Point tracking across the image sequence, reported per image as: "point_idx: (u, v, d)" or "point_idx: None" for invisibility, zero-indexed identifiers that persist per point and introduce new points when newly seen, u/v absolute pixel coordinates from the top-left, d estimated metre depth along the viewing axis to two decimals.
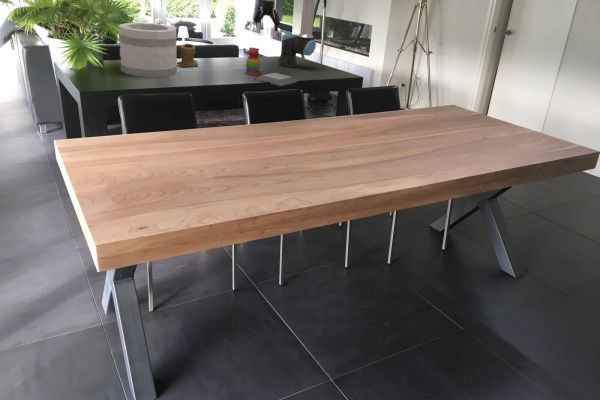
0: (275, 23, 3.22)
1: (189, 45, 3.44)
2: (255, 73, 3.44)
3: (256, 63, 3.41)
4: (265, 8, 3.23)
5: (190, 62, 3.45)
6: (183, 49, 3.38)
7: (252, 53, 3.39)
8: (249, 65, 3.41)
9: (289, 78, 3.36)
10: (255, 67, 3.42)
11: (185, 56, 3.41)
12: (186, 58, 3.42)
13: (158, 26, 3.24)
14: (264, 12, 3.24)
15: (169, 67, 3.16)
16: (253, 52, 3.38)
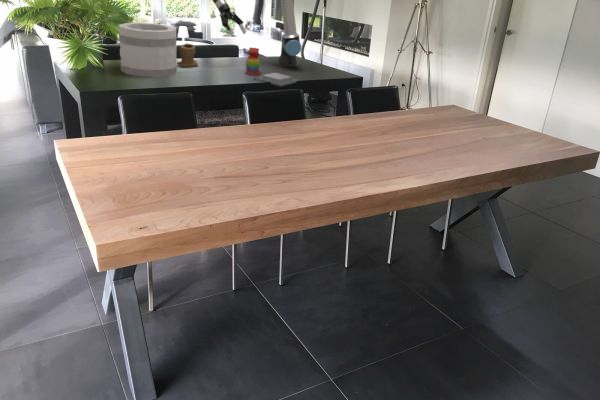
0: None
1: (189, 45, 3.44)
2: (255, 73, 3.44)
3: (256, 63, 3.41)
4: None
5: (190, 62, 3.45)
6: (183, 49, 3.38)
7: (252, 53, 3.39)
8: (249, 65, 3.41)
9: (289, 78, 3.36)
10: (255, 67, 3.42)
11: (185, 57, 3.41)
12: (186, 58, 3.42)
13: (158, 26, 3.24)
14: None
15: (169, 67, 3.16)
16: (253, 52, 3.38)
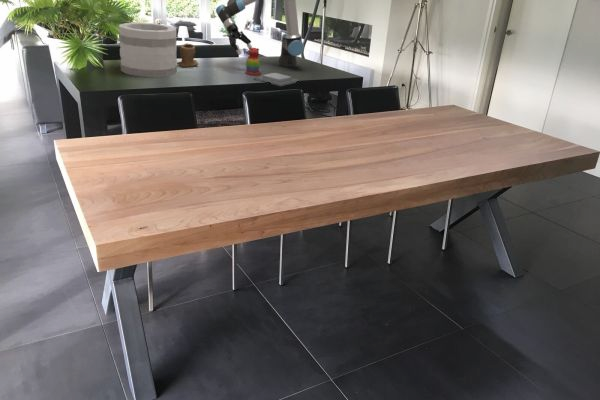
0: None
1: (189, 45, 3.44)
2: (255, 73, 3.44)
3: (256, 63, 3.41)
4: None
5: (190, 62, 3.45)
6: (183, 49, 3.38)
7: (252, 53, 3.39)
8: (249, 65, 3.41)
9: (289, 78, 3.36)
10: (255, 67, 3.42)
11: (185, 56, 3.41)
12: (186, 58, 3.42)
13: (158, 26, 3.24)
14: None
15: (169, 67, 3.16)
16: (253, 52, 3.38)
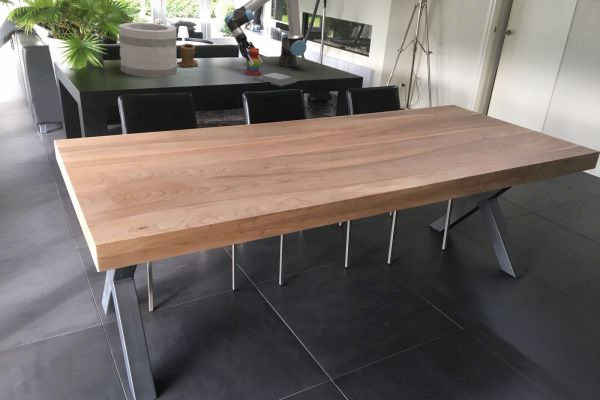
0: None
1: (189, 45, 3.44)
2: (255, 73, 3.44)
3: (256, 63, 3.41)
4: None
5: (190, 62, 3.45)
6: (183, 49, 3.38)
7: (252, 53, 3.39)
8: (249, 65, 3.41)
9: (289, 78, 3.36)
10: (255, 67, 3.42)
11: (185, 57, 3.41)
12: (186, 58, 3.42)
13: (158, 26, 3.24)
14: None
15: (169, 67, 3.16)
16: (253, 52, 3.38)
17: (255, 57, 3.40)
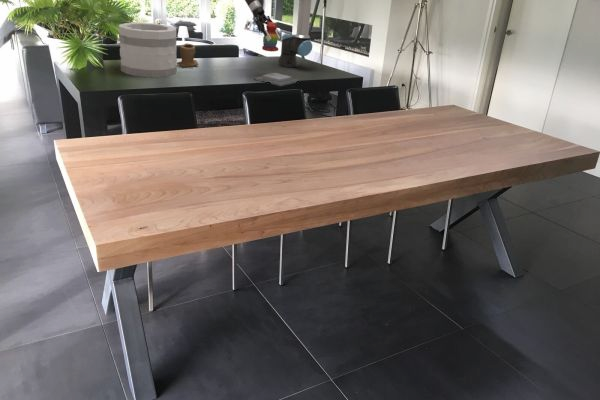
0: None
1: (189, 45, 3.44)
2: (272, 49, 3.27)
3: (274, 38, 3.23)
4: None
5: (190, 62, 3.45)
6: (183, 49, 3.38)
7: (270, 27, 3.21)
8: (266, 40, 3.24)
9: (289, 78, 3.36)
10: (272, 42, 3.24)
11: (185, 57, 3.41)
12: (186, 58, 3.42)
13: (158, 26, 3.24)
14: None
15: (169, 67, 3.16)
16: (271, 26, 3.21)
17: (272, 32, 3.23)
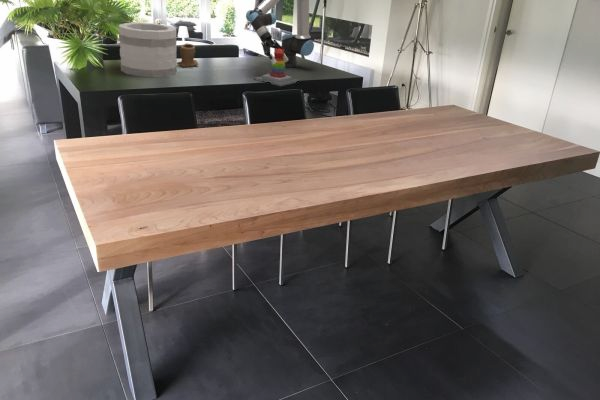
0: None
1: (189, 45, 3.44)
2: (280, 75, 3.31)
3: (281, 65, 3.28)
4: None
5: (190, 62, 3.45)
6: (183, 49, 3.38)
7: (277, 54, 3.26)
8: (274, 67, 3.28)
9: (289, 78, 3.36)
10: (280, 69, 3.29)
11: (185, 56, 3.41)
12: (186, 58, 3.42)
13: (158, 26, 3.24)
14: None
15: (169, 67, 3.16)
16: (278, 53, 3.26)
17: (280, 58, 3.27)
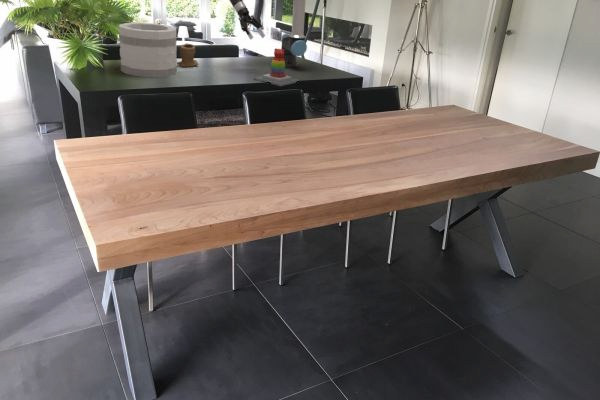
0: None
1: (189, 45, 3.44)
2: (280, 75, 3.31)
3: (281, 65, 3.28)
4: None
5: (190, 62, 3.45)
6: (183, 49, 3.38)
7: (277, 54, 3.26)
8: (274, 67, 3.28)
9: (289, 78, 3.36)
10: (280, 69, 3.29)
11: (185, 57, 3.41)
12: (186, 58, 3.42)
13: (158, 26, 3.24)
14: None
15: (169, 67, 3.16)
16: (278, 53, 3.26)
17: (280, 58, 3.27)
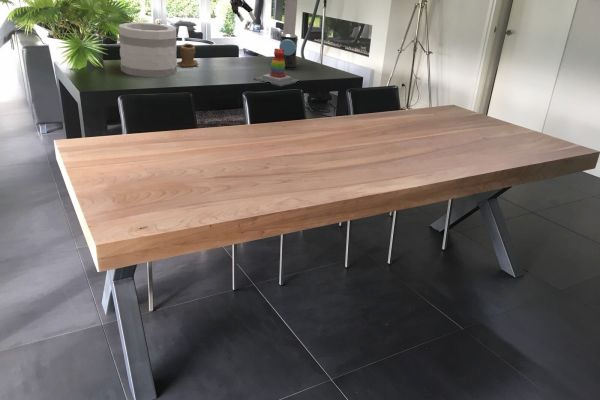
0: None
1: (189, 45, 3.44)
2: (280, 75, 3.31)
3: (281, 65, 3.28)
4: None
5: (190, 62, 3.45)
6: (183, 49, 3.38)
7: (277, 54, 3.26)
8: (274, 67, 3.28)
9: (289, 78, 3.36)
10: (280, 69, 3.29)
11: (185, 57, 3.41)
12: (186, 58, 3.42)
13: (158, 26, 3.24)
14: None
15: (169, 67, 3.16)
16: (278, 53, 3.26)
17: (280, 58, 3.27)
